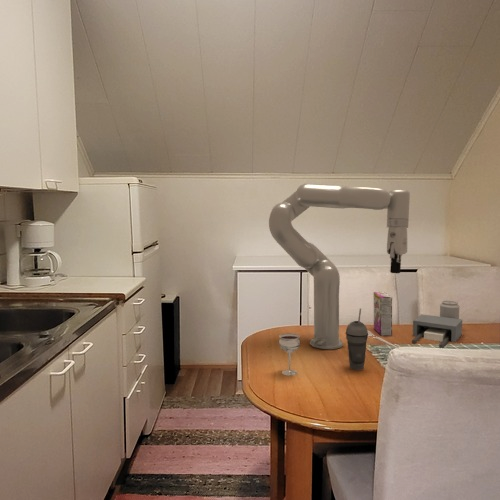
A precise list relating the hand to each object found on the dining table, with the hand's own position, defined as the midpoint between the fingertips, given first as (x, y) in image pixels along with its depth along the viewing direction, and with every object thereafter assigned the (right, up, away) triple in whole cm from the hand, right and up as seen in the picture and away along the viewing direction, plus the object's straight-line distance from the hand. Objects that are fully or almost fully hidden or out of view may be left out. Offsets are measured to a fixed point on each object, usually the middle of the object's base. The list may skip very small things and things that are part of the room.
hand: (395, 272), depth 156 cm
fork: (-2, -28, +9) cm, 30 cm away
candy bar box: (+2, -27, +21) cm, 34 cm away
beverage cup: (-19, -31, -18) cm, 40 cm away
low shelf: (+20, -27, +12) cm, 35 cm away
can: (+31, -26, +24) cm, 47 cm away
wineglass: (-41, -31, -21) cm, 56 cm away
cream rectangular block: (+21, -27, +13) cm, 37 cm away
